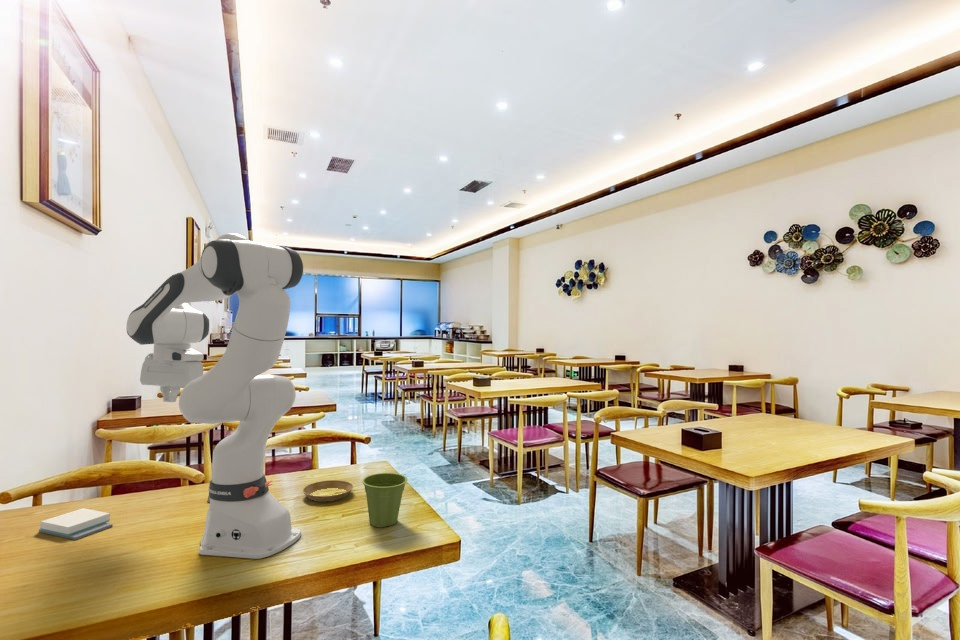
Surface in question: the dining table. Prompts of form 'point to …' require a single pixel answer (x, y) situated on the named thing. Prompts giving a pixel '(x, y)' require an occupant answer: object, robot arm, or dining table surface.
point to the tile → (74, 521)
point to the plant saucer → (325, 485)
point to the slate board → (82, 532)
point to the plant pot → (384, 497)
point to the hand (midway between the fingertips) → (169, 401)
